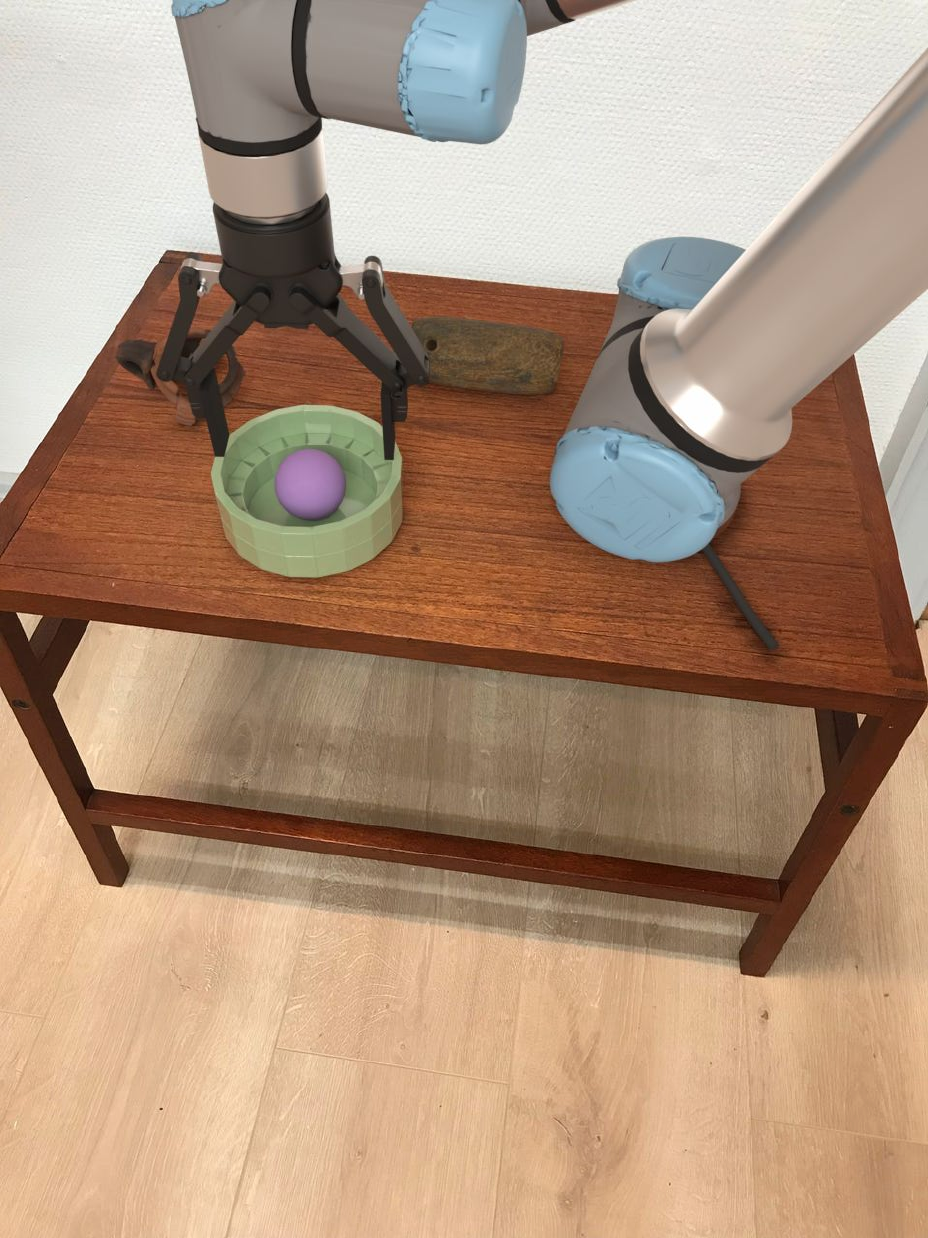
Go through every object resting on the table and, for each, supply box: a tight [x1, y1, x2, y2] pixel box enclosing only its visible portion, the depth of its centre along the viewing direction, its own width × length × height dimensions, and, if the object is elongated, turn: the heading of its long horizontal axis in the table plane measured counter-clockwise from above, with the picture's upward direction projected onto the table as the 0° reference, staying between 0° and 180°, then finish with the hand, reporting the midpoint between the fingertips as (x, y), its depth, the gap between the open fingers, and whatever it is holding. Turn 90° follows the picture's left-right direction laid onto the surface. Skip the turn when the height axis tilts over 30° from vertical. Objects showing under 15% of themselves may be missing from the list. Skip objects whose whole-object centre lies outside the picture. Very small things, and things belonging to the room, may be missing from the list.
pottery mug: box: [115, 326, 247, 427], centre depth 93 cm, size 12×10×8 cm
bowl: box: [210, 404, 405, 579], centre depth 83 cm, size 16×16×6 cm
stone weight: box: [410, 315, 565, 396], centre depth 95 cm, size 15×7×7 cm, turn 87°
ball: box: [274, 449, 346, 520], centre depth 83 cm, size 6×6×6 cm
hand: (306, 447), depth 79 cm, fingers open, 13 cm apart
